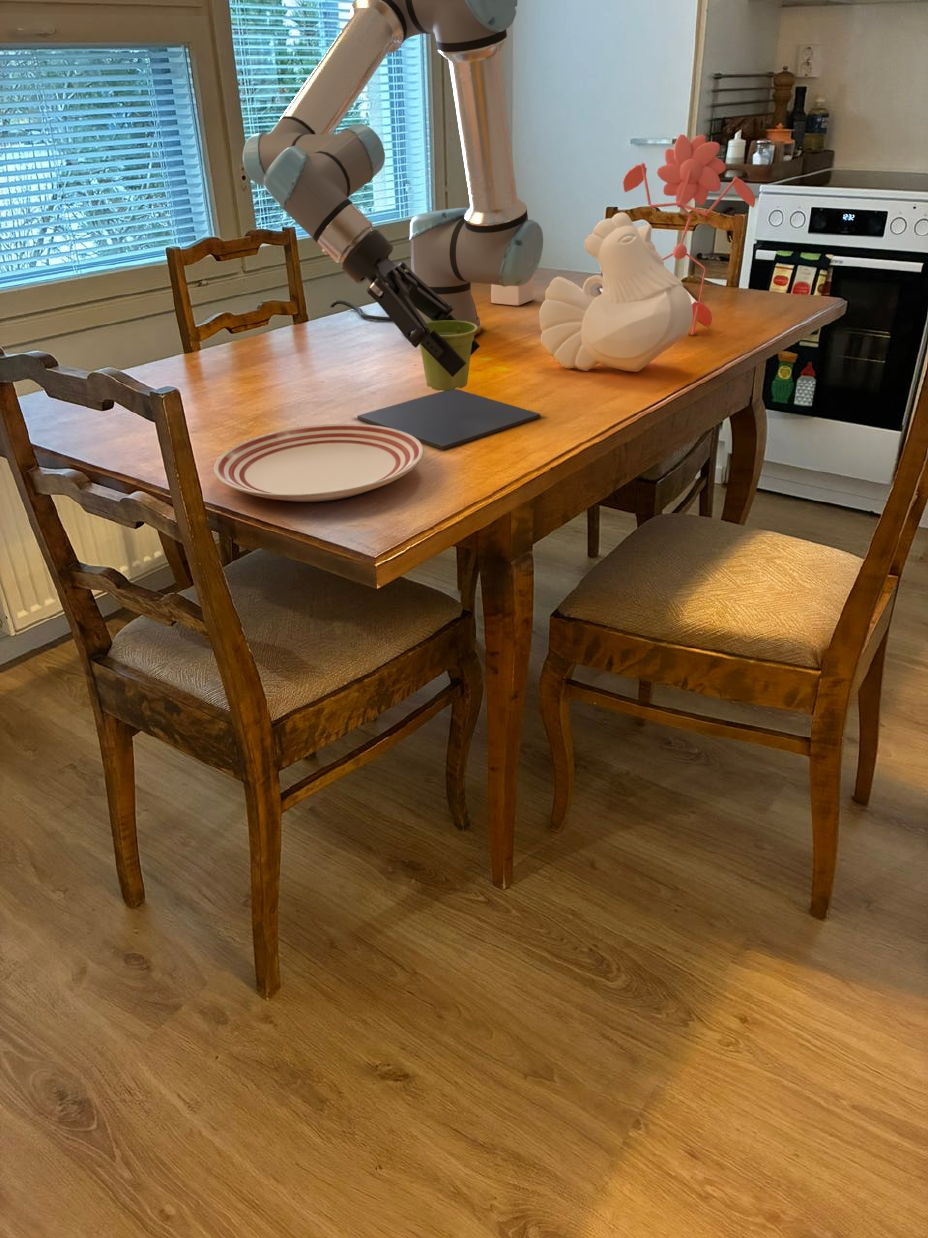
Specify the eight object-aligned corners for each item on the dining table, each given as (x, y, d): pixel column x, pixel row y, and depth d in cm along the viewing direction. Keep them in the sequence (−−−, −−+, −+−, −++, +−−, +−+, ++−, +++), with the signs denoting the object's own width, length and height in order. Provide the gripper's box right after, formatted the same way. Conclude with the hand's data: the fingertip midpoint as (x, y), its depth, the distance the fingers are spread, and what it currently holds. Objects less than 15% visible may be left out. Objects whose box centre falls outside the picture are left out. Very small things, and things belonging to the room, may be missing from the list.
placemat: (357, 419, 148) (357, 415, 148) (453, 391, 160) (453, 387, 160) (442, 450, 135) (442, 446, 135) (540, 417, 147) (540, 413, 147)
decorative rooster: (717, 327, 166) (649, 200, 166) (690, 330, 153) (616, 192, 152) (600, 402, 180) (537, 285, 180) (566, 410, 167) (498, 284, 167)
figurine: (734, 340, 185) (758, 137, 167) (606, 329, 195) (616, 136, 177) (750, 322, 197) (774, 131, 179) (629, 313, 207) (640, 131, 189)
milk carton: (518, 306, 215) (518, 215, 206) (491, 303, 218) (490, 213, 209) (533, 300, 220) (534, 211, 211) (506, 297, 224) (506, 209, 214)
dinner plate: (171, 492, 124) (166, 468, 122) (307, 431, 144) (305, 409, 142) (339, 536, 111) (336, 509, 110) (463, 461, 131) (462, 438, 130)
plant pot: (471, 395, 140) (470, 335, 136) (409, 393, 142) (406, 333, 138) (483, 378, 148) (482, 320, 144) (424, 375, 150) (421, 319, 146)
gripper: (364, 252, 149) (465, 358, 154) (314, 279, 130) (432, 399, 135) (394, 216, 145) (498, 326, 150) (348, 238, 127) (468, 363, 131)
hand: (466, 360), depth 143 cm, fingers closed on plant pot, 9 cm apart
